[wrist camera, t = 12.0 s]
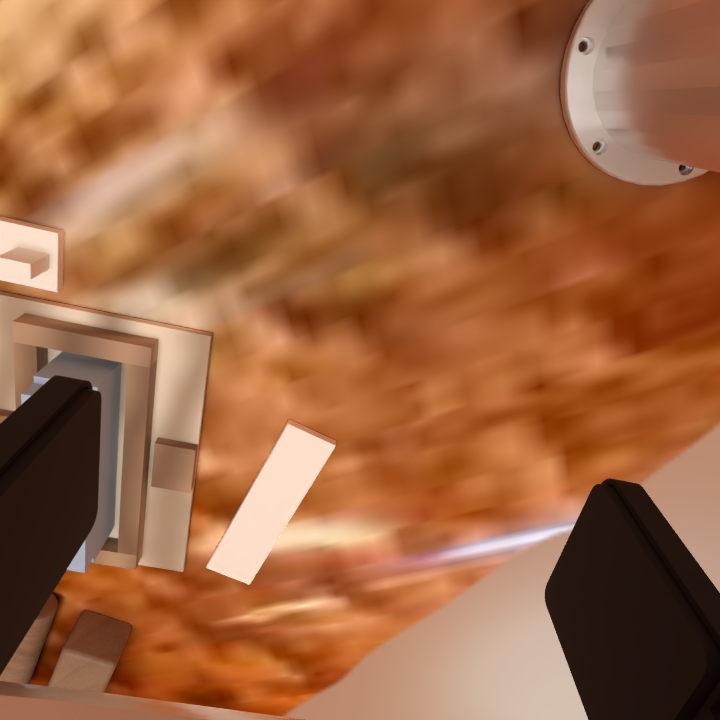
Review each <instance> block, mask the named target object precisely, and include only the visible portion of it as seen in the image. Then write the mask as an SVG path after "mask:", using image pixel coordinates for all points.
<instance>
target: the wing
mask: <svg viewBox="0 0 720 720" xmlns="http://www.w3.org/2000/svg"><path fill="white" fill-rule="evenodd" d="M335 446H336V441H335V440H333V439H331V438H329V437H327V436H325V435H322V434H320V433H318V432H316V431H314V430H311V429H309V428H307V427H305V426H303V425H300V424H298V423H296V422H294V421H292V420H290V419H289V420H288V422H287V424H286V425H285V427H284V429H283V431H282V432H281V434H280V436H279V438H278V439H277V441H276V443H275V445H274V446H273V448H272V450H271V452H270V453H269V455H268V457H267V459H266V461H265V462H264V464H263V466H262V468H261V469H260V471H259V473H258V475H257V476H256V478H255V480H254V482H253V483H252V485H251V487H250V489H249V490H248V492H247V494H246V496H245V498H244V499H243V501H242V503H241V505H240V506H239V508H238V510H237V512H236V513H235V515H234V517H233V519H232V520H231V522H230V524H229V526H228V527H227V529H226V531H225V533H224V535H223V536H222V538H221V540H220V542H219V543H218V545H217V547H216V549H215V550H214V552H213V554H212V556H211V557H210V559H209V561H208V563H207V566H206V568H208V569H210V570H213V571H216V572H218V573H221V574H223V575H226V576H228V577H231V578H233V579H236V580H238V581H241V582H244V583H246V584H249V585H250V583H251V582H252V580H253V578H254V577H255V575H256V574H257V572H258V570H259V569H260V567H261V565H262V564H263V562H264V561H265V559H266V557H267V556H268V554H269V553H270V551H271V549H272V548H273V546H274V545H275V543H276V541H277V540H278V538H279V536H280V535H281V533H282V532H283V530H284V528H285V527H286V525H287V524H288V522H289V520H290V519H291V517H292V516H293V514H294V512H295V511H296V509H297V507H298V506H299V504H300V503H301V501H302V499H303V498H304V496H305V495H306V493H307V491H308V490H309V488H310V487H311V485H312V483H313V482H314V480H315V478H316V477H317V475H318V474H319V472H320V470H321V469H322V467H323V466H324V464H325V462H326V461H327V459H328V458H329V456H330V454H331V453H332V451H333V449H334V448H335Z"/></svg>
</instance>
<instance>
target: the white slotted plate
mask: <svg viewBox="0 0 720 720" xmlns="http://www.w3.org/2000/svg"><path fill="white" fill-rule="evenodd" d="M63 256H64V231H63V230H59V229H55V228H50V227H46V226H41V225H37V224H32V223H28V222H24V221H19V220H15V219H10V218H6V217H1V216H0V280H3V281H7V282H12V283H17V284H21V285H26V286H31V287H36V288H40V289H45V290H50V291H54V292H58V291H60V290H61V289H63Z"/></svg>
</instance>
